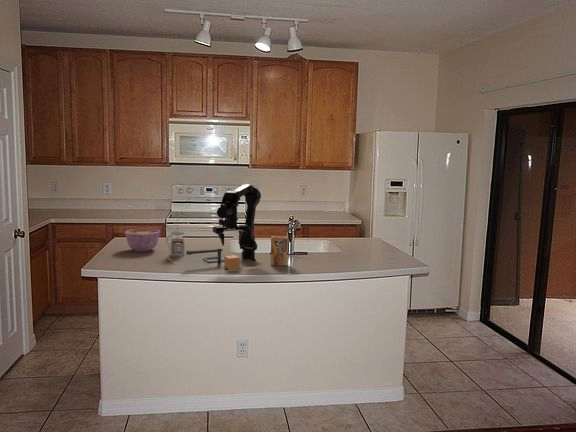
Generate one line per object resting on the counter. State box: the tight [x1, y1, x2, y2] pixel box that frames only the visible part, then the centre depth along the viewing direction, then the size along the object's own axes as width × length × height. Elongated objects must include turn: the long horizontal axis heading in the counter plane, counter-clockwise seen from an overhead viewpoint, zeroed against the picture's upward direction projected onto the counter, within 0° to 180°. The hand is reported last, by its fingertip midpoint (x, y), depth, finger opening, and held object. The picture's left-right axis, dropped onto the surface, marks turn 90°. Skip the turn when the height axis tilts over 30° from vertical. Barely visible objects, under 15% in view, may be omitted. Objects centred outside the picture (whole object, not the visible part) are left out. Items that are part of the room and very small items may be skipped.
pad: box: [223, 267, 244, 273], centre depth 260 cm, size 9×9×1 cm
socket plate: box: [198, 255, 224, 267], centre depth 271 cm, size 12×20×2 cm, turn 28°
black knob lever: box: [186, 248, 224, 264], centre depth 260 cm, size 19×2×8 cm, turn 118°
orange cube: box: [223, 254, 241, 270], centre depth 259 cm, size 6×6×6 cm
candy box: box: [270, 235, 288, 266], centre depth 270 cm, size 9×4×15 cm, turn 89°
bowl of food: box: [124, 228, 161, 253], centre depth 296 cm, size 20×20×12 cm
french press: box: [165, 212, 185, 257], centre depth 282 cm, size 10×12×25 cm
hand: (231, 245), depth 260 cm, fingers open, 9 cm apart
